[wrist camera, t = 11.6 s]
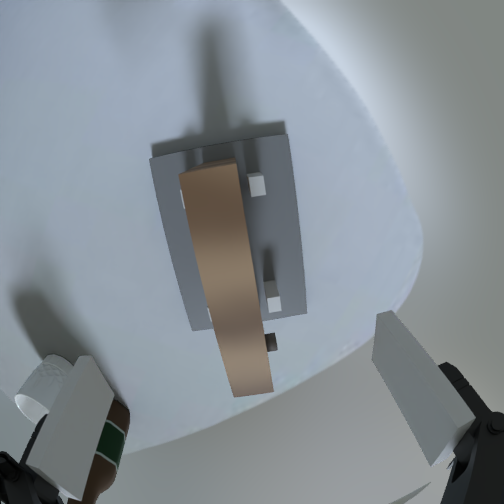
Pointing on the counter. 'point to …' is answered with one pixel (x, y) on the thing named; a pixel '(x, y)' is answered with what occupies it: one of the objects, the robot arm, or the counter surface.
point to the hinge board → (257, 221)
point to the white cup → (43, 387)
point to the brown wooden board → (228, 273)
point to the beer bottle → (106, 454)
